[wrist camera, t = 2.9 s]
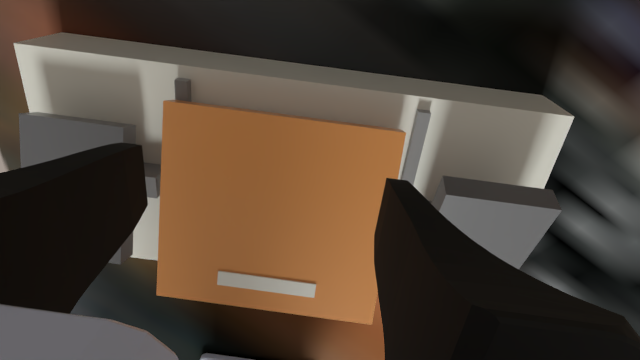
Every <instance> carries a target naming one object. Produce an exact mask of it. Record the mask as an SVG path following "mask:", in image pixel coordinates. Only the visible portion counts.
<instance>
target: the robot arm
mask: <svg viewBox="0 0 640 360" xmlns="http://www.w3.org/2000/svg"><path fill="white" fill-rule="evenodd" d="M147 206H148V200H147V190H146V180H145V170H144V160H143V150H142V145H137V144H130V143H122V142H121V143H113V144H108V145H104V146H100V147H96V148H93V149H89V150H85V151H82V152H78V153H75V154H71V155H68V156H64V157H61V158H57V159H54V160H50V161H47V162H43V163H39V164H35V165H31V166H27V167H23V168H20V169H16V170H12V171H7V172H3V173H0V360H179V359H178V357H177V356H176V354H175V353H174V352H173V351H172V350H171V349H169V348H168V347H167V346H166V345H164V344H163V343H162V342H160V341H159V340H158V339H157V338H155V337H154V336H153V335H152V334H150V333H149V332H148V331H145V330H142V329H139V328H136V327H133V326H130V325H127V324H124V323H120V322H117V321H114V320H111V319H104V318H96V317H89V316H82V315H75V314H70V312H71V311H72V309H73V308H74V306H75V305H76V303H77V301H78V300H79V299H80V297H81V296H82V295H83V293H84V292H85V291H86V289H87V288H88V287H89V285H90V284H91V283H92V282H93V280H94V279H95V278H96V277H97V275H98V274H99V273H100V272H101V271H102V269H103V268H104V267H105V266H106V264H107V263H108V262H109V261H110V259H111V258H112V257H113V256H114V255H115V253H116V252H117V251H118V250H119V248H120V247H121V246H122V245H123V243H124V242H125V241H126V240H127V238H128V237H129V236H130V234H131V233H132V232H133V230H134V229H135V227H136V225H137V224H138V222H139V220H140V219H141V217H142V215H143V213H144V211H145V209H146V208H147ZM374 266H375V274H376V281H377V289H378V296H379V303H380V310H381V317H382V324H383V332H384V344H385V360H640V337H639V336H638V334H637V333H636V332H635V330H634V329H633V328H632V327H631V325H630V324H629V323H628V321H627V320H626V319H625V317H623V316H621V315H619V314H616V313H614V312H611V311H609V310H606V309H604V308H601V307H598V306H596V305H593V304H591V303H588V302H586V301H583V300H581V299H578V298H576V297H573V296H571V295H569V294H566V293H564V292H562V291H560V290H558V289H556V288H554V287H552V286H549V285H547V284H545V283H543V282H541V281H539V280H537V279H535V278H533V277H531V276H529V275H527V274H526V273H524V272H522V271H520V270H519V269H517V268H515V267H513V266H512V265H510V264H508V263H506V262H505V261H503V260H501V259H500V258H498V257H497V256H495V255H493V254H492V253H490V252H489V251H487V250H486V249H485V248H483V247H482V246H480V245H479V244H478V243H476V242H475V241H473V240H472V239H471V238H469V237H468V236H467V235H465V234H464V233H463V232H462V231H461V230H459V229H458V228H457V227H456V226H455V225H453V224H452V223H451V222H450V221H449V220H448V219H447V218H445V217H444V216H443V215H442V214H441V213H440V212H439V211H438V210H437V209H436V208H435V207H434V206H433V205H432V204H431V203H430V202H429V201H428V200H427V199H426V198H425V197H424V196H423V195H422V194H421V193H420V192H419V191H418V190H417V189H416V188H415V187H414V186H413V185H412V184H411V183H410V182H409V181H407V180H399V179H392V178H386V183H385V187H384V192H383V196H382V201H381V206H380V210H379V215H378V220H377V224H376V229H375V234H374ZM200 360H254V359H247V358H240V357H232V356H225V355H218V354H211V353H205V354H203V355H201V358H200Z"/></svg>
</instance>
